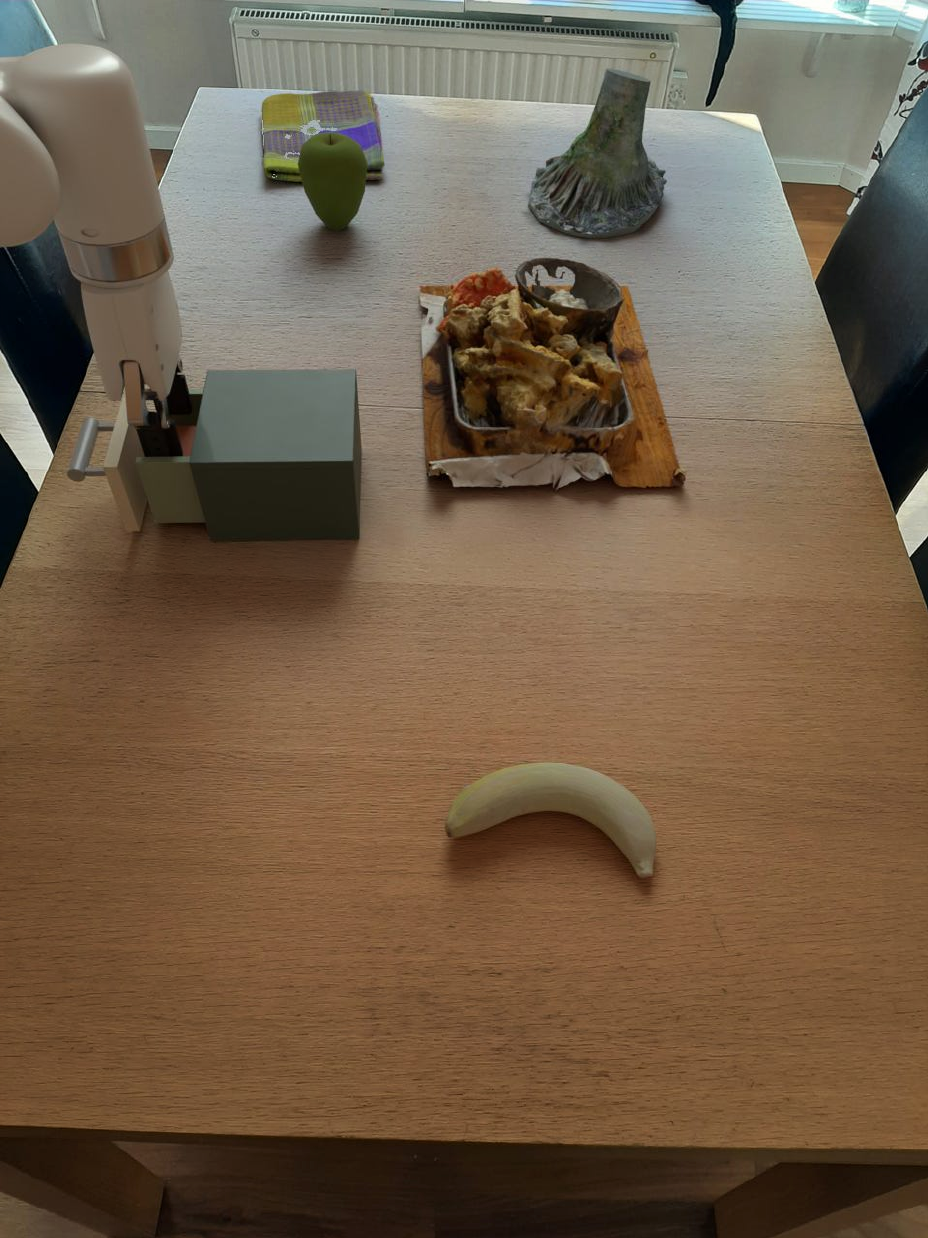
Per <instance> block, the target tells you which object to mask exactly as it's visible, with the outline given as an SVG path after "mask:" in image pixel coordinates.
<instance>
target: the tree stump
mask: <svg viewBox="0 0 928 1238" xmlns="http://www.w3.org/2000/svg"><path fill="white" fill-rule="evenodd" d="M604 71H605V72H604V74H603V75H604V76H603V79H602V83H601V86H600V89H599V93H598V96H597V99H596V102H595V105H594V108H593V110H592V113H591V115H590V119H589V121H588V124H587V127H586V128H585V129H584V131H583V132H582V133H580V134H578V135H577V136H576V137H575V139H574V140H573V141H572V143H571V144H570V146H569V148H568V149H567V150H566V151H565V152H564V153H562V154H560V155H555V156H553V157H550V158H549V159H547V160H545V167H537V168H536V170H535V176H534V178H533V179H532V181H531V187H530V195H529V197H528V201H527V202H528V203H527V207H528V208H529V210H530V211H531V212H532V213H533V215H534V216H535V218H536V219H537V220H538V221H539V223H540V224H541V223H542V224H544V225H545V226H548V227H550V228H552V229H554V230H557V231H558V232H561V233H563V234H565V235H569V236H575V237H578V238H579V237H580V238H586V239H610V238H613V237H619V236H623V235H624V236H625V235H630V234H633V233H635V232H636V231H637V230H639V229H640V228H641V227H643V226H644V225H645V223H647V222H648V220H649V219H650V218H651V217H652V216H653V214H654V213H655V212H656V211H657V208H658V207H659V205H660V203H661V201H662V198H663V197H664V190H665V185H666V184H667V181H668V180H667V179H665V178H664V176H665V174H666V173H667V171H666V170H664V169H660V168H658V166H657V164H656V162H655V161H654V160H653V159H652V158H650V157H649V156H648V153H647V151H646V149H645V147H644V144H643V133H644V125H645V118H646V108H647V102H648V98H649V92H650V87H651V82H652V81H651V80H650V79H648V78H646V77H644V76H640V75H638V74H635V73H632V72H628V71H623V70H620V69H616V68H615V69H614V68H605V70H604Z"/></svg>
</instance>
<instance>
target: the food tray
mask: <svg viewBox="0 0 928 1238" xmlns="http://www.w3.org/2000/svg"><path fill="white" fill-rule="evenodd" d="M538 266H542V267H543V268H544V269H545V270H546V272H547V275H548V277H550V278H553V279H558V276H557V274H556V273H557V270H558V268H567V269H568V270H570V271H571V272H572V274H573V275H574V283H573V285H541V281H540V280H539V269H535V271H536V273H535V277H534V276H533V269H534V267H538ZM526 273H528V274H529V276H530V277H532V278H534V283H535V284H533V283H532V284H531V285H528V282H527V281H528V280H527V277H526ZM565 273H566V271H561V276H559V279H560V280H563V278H564V274H565ZM514 278H515V282H516V284H517V285H514V284H512V283H511V281H510V280H509V279H508V278H506V276H505V274H504V273H503V271H502V269H500V268H499V267H494V268H486V270H485V273H484V272H481V273H480V272H474V273H472V274H469V275H467V276H465V278H464V279H462V280H461V281H459V282H458V283H457V284H456V283H451V284H450V285H425V286H424V285H419V300H420V306H421V307H423V308H426V309H428V310H427V314H422V313H421V315H422V316H421V321H420V322H421V326H420V333H421V334H420V337H421V357H422V358H421V359H422V362H421V363H422V366H421V368H422V384H423V386H422V394H423V412H424V413H423V417H424V419H423V422H424V429H425V430H424V443H425V444H424V445H425V447H424V448H425V449H424V450H425V453H426V454H425V462H426V467H425V468H426V476H427V477H434V478H435V479H436V478H437V479H439V480H443V479H444V478H445V476H448V478H449V480H450V481H451V483H452V486H453V487H454V488H460V487H462V488H463V487H464V488H466V487H471V488H474V487H476V488H477V487H480V488H482V487H483V488H495V487H497V488H503V487H505V488H508V487H510V486H511V487H513V486H522V487H523V486H539V485H540V486H542V485H548V484H552V490H553V491H554V492H555V493H556V492H557V491H558V490H559V488H562V487H564V486H567V485H569V484H570V483H572V482H573V483H574V482H576V481H578V480H580V478H582V479H584V480H585V481H588V482H593V481H596V480H597V479H600V478H601V477H602V476H603V477H604V476H605V475H606V474H607V475H611V477H612V480H613V482H614V484H616V485H617V486H619V487H622V488H624V487H625V488H631V487H635V488H643V489H646V488H647V487H649V488H652V487H654V488H656V487H658V488H660V487H665V488H668V487H670V488H671V487H672V488H673V487H674V486H675V487H679V488H681V487H683V486H684V484H685V482H686V475H688V473H687V470H686V469H684V468H682V467H680V465H679V460H678V458H677V454H676V450H675V449H676V448H675V446H674V442H673V438H672V435H671V432H670V431H671V430H670V427H669V425H668V420H667V418H666V414H665V410H664V407H663V406H664V405H663V403H662V399H661V398H660V397H661V396H660V393H659V391H658V386H657V383H656V378H655V377H654V373H653V369H652V367H651V363H650V362H651V361H650V358H649V349H647V348H646V343H645V341H644V337H643V334H642V329H641V328H640V326H641V325H640V321H639V319H638V318H637V317H638V316H637V313H636V309H635V305H634V303H633V299H632V295H631V292H630V288H629V286H628V285H620V284H619V283H618V282H617V281H616V280H615V279H614V278H612V277H611V276H610V275H609V274H607V273H606V272H603V271H601V270H599V269H596V268H594V267H591V266H589V265H587V264H586V263H583V262H578V261H575V260H571V259H563V258H561V259H560V258H556V257H537V258H533V259H532V258H531V259H528V260H525V261H523V262H522V263H520V264H519V266H517V268H516V270H515V275H514Z"/></svg>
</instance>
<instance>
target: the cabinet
mask: <svg viewBox="0 0 928 1238" xmlns="http://www.w3.org/2000/svg"><path fill="white" fill-rule="evenodd" d="M203 389H204V390H203V395H202V400H201V406H200V411H199V416H198V421H197V426H196V431H195V436H194V441H193V446H192V451H191V457H190V462H189V464H190V468H191V471H192V475H193V479H194V482H195V486H196V490H197V493H198V497H199V501H200V505H201V508H202V512H203V516H204V519H205V522H204V523H205V526H206V530H207V534H208V538H209V541H210V542H211V543H212V542H267V541H269V542H271V541H274V542H275V541H327V540H329V541H330V540H331V541H333V540H335V541H336V540H360V538H361V536H360V535H361V497H362V496H361V493H362V491H361V490H362V453H363V452H362V449H363V447H362V446H363V445H362V434H361V432H362V431H361V418H360V406H359V405H360V404H359V392H358V379H357V369H354V368H353V369H352V368H351V369H208V370H206V375H205V381H204V385H203Z"/></svg>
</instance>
